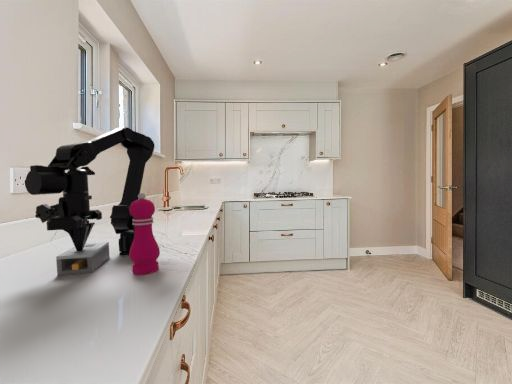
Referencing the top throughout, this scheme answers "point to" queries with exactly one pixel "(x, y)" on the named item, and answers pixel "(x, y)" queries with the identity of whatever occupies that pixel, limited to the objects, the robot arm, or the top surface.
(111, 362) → the top surface
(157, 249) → the pepper mill
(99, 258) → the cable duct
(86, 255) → the lid
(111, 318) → the top surface
